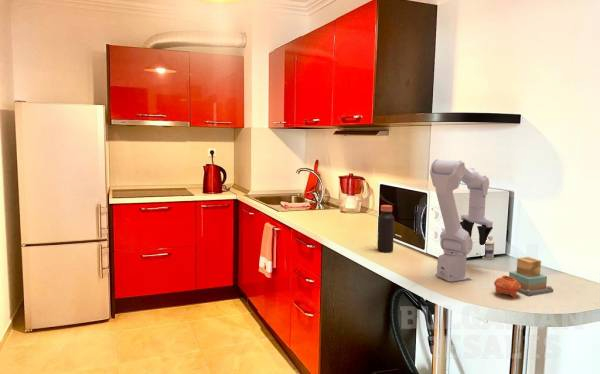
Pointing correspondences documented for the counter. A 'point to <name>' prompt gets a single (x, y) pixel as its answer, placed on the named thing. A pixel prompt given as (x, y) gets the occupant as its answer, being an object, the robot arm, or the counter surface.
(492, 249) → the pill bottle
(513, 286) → the orange rounded lump
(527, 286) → the teal block with base
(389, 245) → the black water bottle
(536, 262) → the ochre brick
